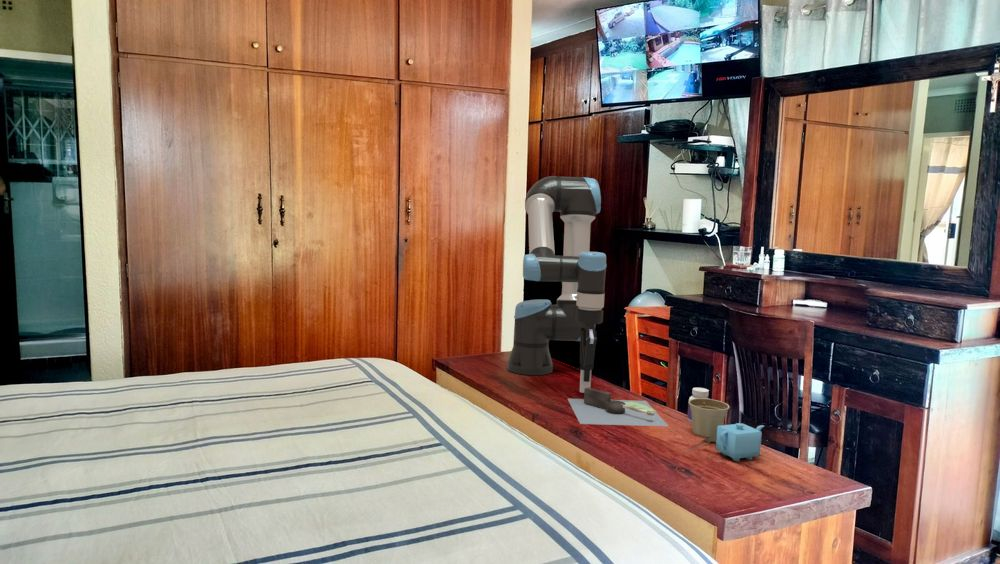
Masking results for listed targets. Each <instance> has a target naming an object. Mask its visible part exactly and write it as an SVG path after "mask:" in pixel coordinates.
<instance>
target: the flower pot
mask: <svg viewBox="0 0 1000 564" xmlns="http://www.w3.org/2000/svg"><path fill="white" fill-rule="evenodd" d="M688 403H689V405H690V409H691V414H692V423H691V427H692V428H691V429H692V433H694V434H695V435H697V436H701V437H704V439H703V440H702V443H703V442H704V443H711V442H713V443H716V440H717V427H718V426H721V425H724V422H725V417H726V415H727V413H728V410H729V409H730V405H729V404H728V403H726V402H723V401H721V400H716V399H713V398H712V399H711V398H709V399H705V398H697V399H691V400H689V399H688Z"/></svg>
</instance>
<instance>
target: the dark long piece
mask: <svg viewBox="0 0 1000 564" xmlns="http://www.w3.org/2000/svg"><path fill="white" fill-rule="evenodd" d="M583 394H584V395H583V399H584V403H586V404H590V405H594V406H597V407H601V408H605V409H606V411H608V412H611V413H624V412H625V408H626V409H630V410H633V411H637V412H641V413H645V414H647V415H653V416H654V412H653V411H646V410H642V409H638V408H635V407H631V406H627V405H625V403H624V402H622V401H616V400H617V399H612V393H611V392H608V391H607V392H606V391H603V390H600V389H599V390H598V389H596V388H591V387H590V388H585V392H584V393H583Z"/></svg>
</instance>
